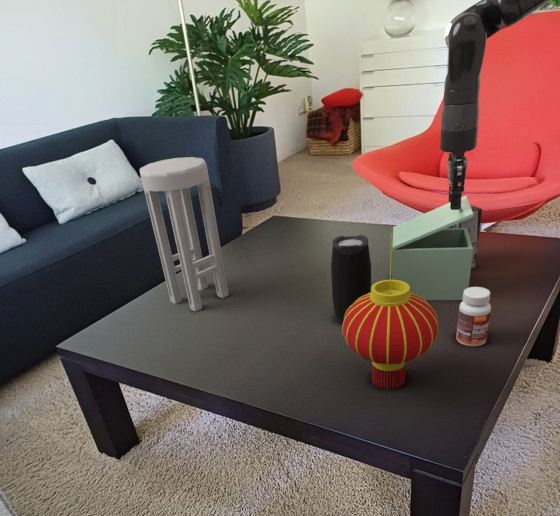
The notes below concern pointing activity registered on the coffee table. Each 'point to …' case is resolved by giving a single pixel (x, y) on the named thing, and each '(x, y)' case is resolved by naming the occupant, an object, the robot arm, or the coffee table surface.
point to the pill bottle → (474, 316)
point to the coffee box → (472, 230)
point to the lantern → (390, 327)
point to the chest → (436, 264)
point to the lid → (430, 223)
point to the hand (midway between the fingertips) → (454, 205)
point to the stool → (184, 226)
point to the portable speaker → (349, 272)
